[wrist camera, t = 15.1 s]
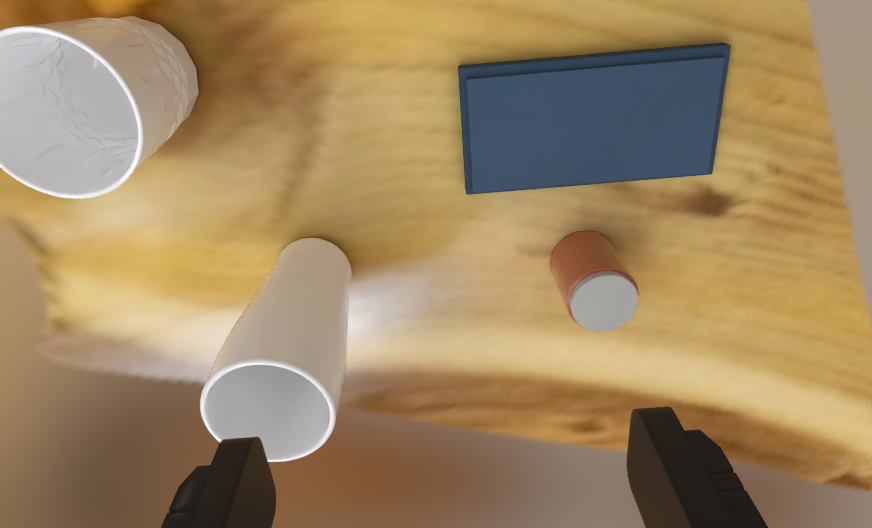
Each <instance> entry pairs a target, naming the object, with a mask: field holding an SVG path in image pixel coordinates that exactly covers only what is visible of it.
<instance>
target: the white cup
mask: <svg viewBox="0 0 872 528" xmlns="http://www.w3.org/2000/svg"><path fill="white" fill-rule="evenodd" d="M198 94H199V92H198V81H197V71H196V67H195V65H194V63H193V61H192V60H191V58H190V56H189V54H188V52H187V50H186V49H185V47H184V45H183V43H182V42H180V41H179V40H178V39H177V38H176V37H174V36H173V35H172V34H171V33H170V32H168V31H167V30H166V29H165V28H164V27H162V26H161V25H160V24H157V23H154V22H151V21H148V20H144V19H141V18H138V17H135V16H127V17H120V18H103V17H98V18H83V19H75V20H67V21H59V22H51V23H43V24H35V25H27V26H19V27H12V28H7V29H4V30H0V167H1V168H2V169H3V170H4V171H5V172H7V173H8V174H9V175H11V176H12V177H13V178H15V179H16V180H18V181H20V182H21V183H23V184H25V185H27V186H29V187H31V188H33V189H35V190H37V191H40V192H43V193H46V194H49V195H52V196H57V197H62V198H70V199H84V198H92V197H97V196H100V195H103V194H106V193H108V192H111V191H113V190H114V189H116V188H118V187H119V186H120V185H122V184H123V183H124V182H125V181H126V180H127V179H128V178H129V177H130V176H131V175H132V174H133V173H134V172H135V171H136V170H137V169H138V168H139V167H140V166H141V165H142V164H144V163H145V162H146V161H147V160H148V159H149V158H150V157H151V156H152V155H153V154H154V153H155V152H156V151H157V150H158V149H159V148H160V147H161V146H162V145H163V144H164V143H165V142H166V141H167V140H168V139H169V138H170V137H171V136H172V134H173V133H174V132H175V131H176V129H177V128H178V126H179V125H180V124H181V123H182V122H183V121H184V120H185V119H187V118H188V117H189V116H190V114H191V111H192V109H193V106H194V104H195V102H196V99H197V97H198Z"/></svg>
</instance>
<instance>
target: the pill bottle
mask: <svg viewBox="0 0 872 528" xmlns="http://www.w3.org/2000/svg"><path fill="white" fill-rule="evenodd" d="M550 267H551V271H552V273H553V276H554V278H555V281H556V283H557V286H558V288H559V291H560V293H561V296H562V298H563V301H564V303H565V306H566V308H567V311H568V313H569V315H570V317H571V318H572V319H573V320H574V321H575V322H576V323H578V324H579V325H580V326H582V327H583V328H585V329H588V330H591V331H595V332H605V331H610V330H613V329H616V328H618V327H620V326H622V325H624V324H625V323H626V322H627V321H628V320H629V319H630V318H631V317H632V316H633V314H634V313H635V311H636V309H637V306H638V296H639V291H638V286H637V284H636V282H635V280H634V278H633V277H632V275H631V274H630V272H629V270H628V269H627V267H626V266H625V264H624V263H623V261H622V259H621V258H620V256H619V255H618V253H617V251H616V250H615V248H614V247H613V245H612V244H611V242H610V241H609V240H608V239H607V238H606V237H605V236H603V235H602V234H599V233H597V232H593V231H580V232H576V233H573V234H571V235H569V236H567V237H565V238H564V239H563V240H561V241H560V242H559V243H558V244H557V246H556V247H555V249H554V251H553V253H552V255H551V260H550Z"/></svg>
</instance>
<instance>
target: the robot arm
mask: <svg viewBox="0 0 872 528" xmlns="http://www.w3.org/2000/svg"><path fill="white" fill-rule="evenodd" d="M627 472H628V478H629V483H630V487H631V490H632V493H633V495H634V498H635V501H636V503H637V506H638V508H639V511H640V514H641V516H642V519H643V521H644V524H645V527H646V528H768V527H767V525H766V523H765V522H764V520H763V518H762V517H761V515H760V513H759V512H758V510H757V508H756V507H755V505H754V503H753V502H752V500H751V498H750V496H749V495H748V493H747V492H746V491H744V488H743V485H742V483H741V481H740V480H739V478H738V476H737V475H736V473H734V472H733V468H732V466H731V464H730V463H729V461H728V459H727V458H726V456H725V454H724V453H723V451H722V449H721V448H720V447H719V446H718V445H717V444H716V443H715V442H713V441H712V440H711V439H710V438H709V437H708V436H706V435H705V434H704V433H703V432H702V431H700V430H688V431H684V429H683V427H682V425H681V424H680V422H679V420H678V418H677V416H676V414H675V413H674V411H673V410H672V408H670V407H655V408H642V409H634V410H633V411H632V414H631V422H630V433H629V443H628V453H627ZM275 508H276V491H275V485H274V481H273V478H272V474H271V471H270V468H269V464H268V461H267V457H266V454H265V451H264V447H263V444H262V441H261V439H260V438H259V437H246V438H233V439H224V440H222V441H221V442H220V444H219V446H218V448H217V451H216V453H215V456H214V458H213V461H212V463H211V465H208V466H197V467H196V469H195V470H194V471H193V472H192V473H191V474H190V475H189V476H188V477H187V478H186V480H185V481H184V482H183V483H182V484H181V485H180V486H179V488H178V490H177V493H176V495H175V497H174V499H173V502H172V504H171V506H170V508H169V513H168V514H167V515H166V517H165V520H164V522H163V524H162V527H161V528H271V527H272V523H273V519H274V515H275Z"/></svg>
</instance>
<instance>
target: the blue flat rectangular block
mask: <svg viewBox="0 0 872 528" xmlns="http://www.w3.org/2000/svg"><path fill="white" fill-rule="evenodd" d="M730 48H731V45H729V44H725V43H714V44H703V45H691V46H680V47H668V48H657V49H645V50H634V51H622V52H611V53H599V54H588V55H576V56H565V57H553V58H541V59H530V60H518V61H507V62H495V63H484V64H472V65H461V66H458V73H459V89H460V106H461V123H462V139H463V156H464V173H465V189H466V194H479V193H491V192H503V191H515V190H527V189H539V188H552V187H564V186H576V185H588V184H600V183H612V182H624V181H636V180H648V179H660V178H672V177H684V176H696V175H708V174H712V172H713V165H714V158H715V151H716V144H717V137H718V130H719V123H720V117H721V110H722V103H723V96H724V89H725V82H726V75H727V68H728V62H729V55H730Z"/></svg>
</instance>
